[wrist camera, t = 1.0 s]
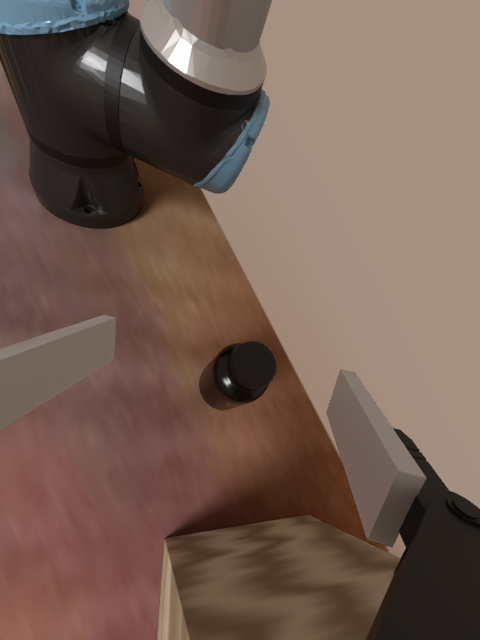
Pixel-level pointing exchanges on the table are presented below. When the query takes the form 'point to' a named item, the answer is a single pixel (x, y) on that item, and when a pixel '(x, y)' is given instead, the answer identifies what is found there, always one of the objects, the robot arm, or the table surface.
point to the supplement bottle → (237, 375)
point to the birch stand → (272, 583)
